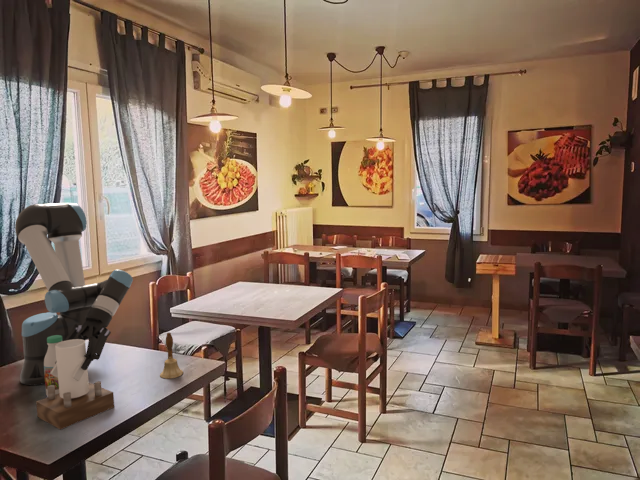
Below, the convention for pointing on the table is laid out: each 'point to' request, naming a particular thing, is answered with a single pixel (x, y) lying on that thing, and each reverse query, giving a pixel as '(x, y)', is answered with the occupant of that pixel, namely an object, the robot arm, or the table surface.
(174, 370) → the hand bell
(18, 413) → the table surface
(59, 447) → the table surface
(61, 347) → the cup
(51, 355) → the milk bottle
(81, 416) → the riser
